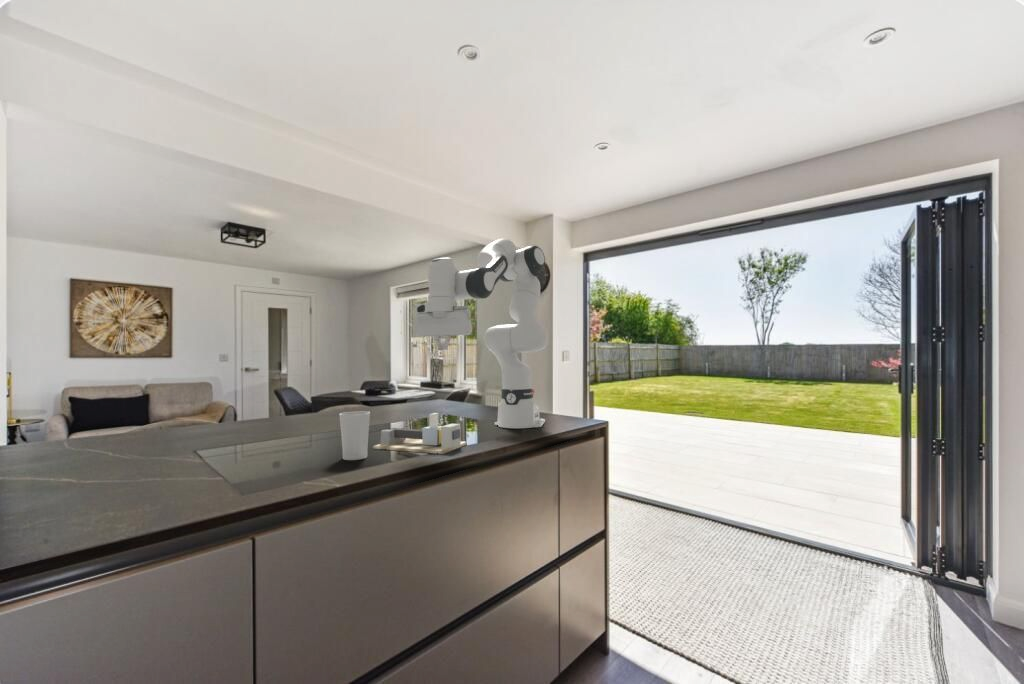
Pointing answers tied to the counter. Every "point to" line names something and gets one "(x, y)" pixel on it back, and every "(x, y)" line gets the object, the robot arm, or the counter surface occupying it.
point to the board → (417, 446)
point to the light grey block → (390, 436)
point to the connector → (450, 435)
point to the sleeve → (431, 431)
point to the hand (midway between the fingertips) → (442, 350)
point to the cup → (354, 434)
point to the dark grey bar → (411, 433)
